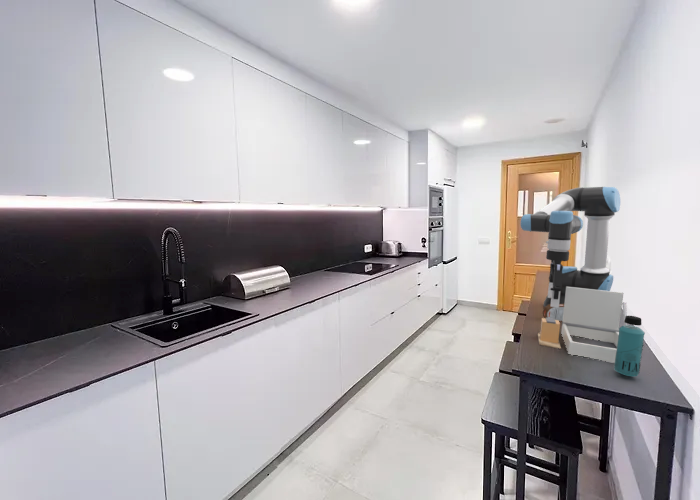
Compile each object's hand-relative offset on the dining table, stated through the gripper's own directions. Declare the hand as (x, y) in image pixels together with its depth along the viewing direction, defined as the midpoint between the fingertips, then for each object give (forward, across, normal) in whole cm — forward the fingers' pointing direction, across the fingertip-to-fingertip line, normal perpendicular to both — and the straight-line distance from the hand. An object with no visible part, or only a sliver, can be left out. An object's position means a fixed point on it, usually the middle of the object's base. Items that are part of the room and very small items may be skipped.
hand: (552, 302), depth 132 cm
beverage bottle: (+16, +22, +20) cm, 33 cm away
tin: (+17, -30, +6) cm, 35 cm away
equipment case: (+16, 0, +15) cm, 22 cm away
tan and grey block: (+16, 0, 0) cm, 16 cm away
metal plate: (+16, 0, 0) cm, 16 cm away
